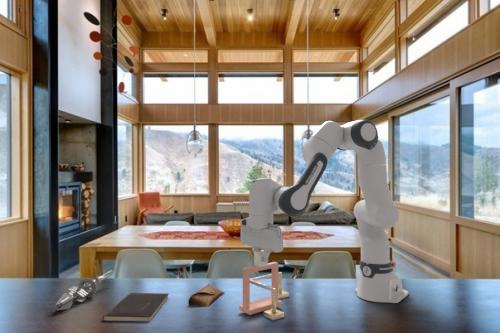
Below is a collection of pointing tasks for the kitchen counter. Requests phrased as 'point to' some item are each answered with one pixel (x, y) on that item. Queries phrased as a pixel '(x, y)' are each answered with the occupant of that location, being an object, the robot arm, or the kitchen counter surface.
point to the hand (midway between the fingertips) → (261, 260)
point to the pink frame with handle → (247, 305)
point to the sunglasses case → (205, 296)
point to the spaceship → (81, 291)
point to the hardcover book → (136, 307)
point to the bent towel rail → (273, 312)
